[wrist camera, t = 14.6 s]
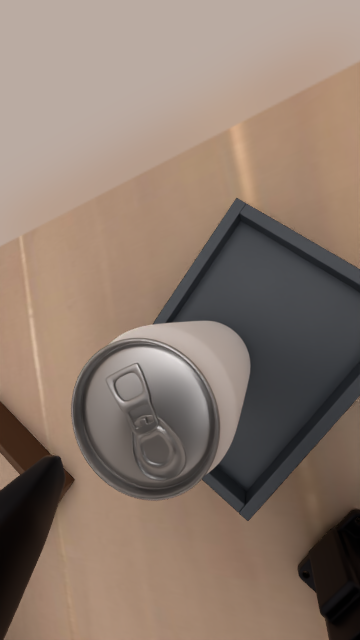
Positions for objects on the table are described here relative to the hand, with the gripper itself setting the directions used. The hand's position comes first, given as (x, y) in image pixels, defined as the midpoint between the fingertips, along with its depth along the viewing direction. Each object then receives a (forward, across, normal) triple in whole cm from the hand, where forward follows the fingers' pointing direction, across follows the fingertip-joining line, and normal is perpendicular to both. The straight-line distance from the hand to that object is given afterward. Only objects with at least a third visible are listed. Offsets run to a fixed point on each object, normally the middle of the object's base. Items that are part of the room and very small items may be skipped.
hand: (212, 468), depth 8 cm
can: (+13, 0, +4) cm, 13 cm away
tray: (+13, -3, +3) cm, 14 cm away
